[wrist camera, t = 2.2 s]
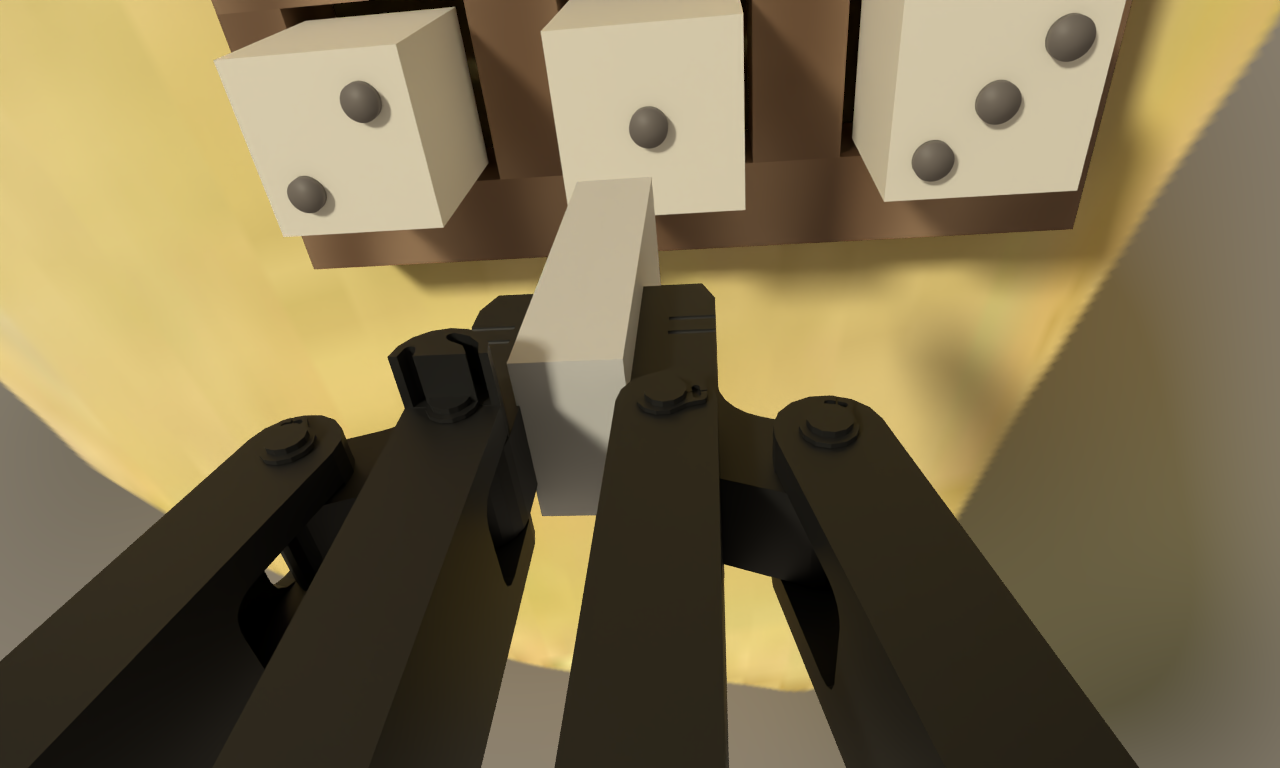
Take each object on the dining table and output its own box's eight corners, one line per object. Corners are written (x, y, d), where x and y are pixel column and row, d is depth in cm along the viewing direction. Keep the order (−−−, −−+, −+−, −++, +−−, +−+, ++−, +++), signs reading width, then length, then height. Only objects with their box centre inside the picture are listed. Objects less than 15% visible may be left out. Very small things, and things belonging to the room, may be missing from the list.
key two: (355, 175, 29) (281, 245, 24) (305, 20, 26) (207, 62, 21) (489, 166, 28) (441, 235, 23) (455, 7, 25) (392, 46, 20)
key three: (851, 142, 27) (885, 210, 22) (864, -32, 24) (907, 1, 19) (1007, 131, 26) (1080, 199, 21) (1042, -48, 23) (1136, -19, 18)
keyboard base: (350, 229, 34) (314, 269, 31) (237, -106, 27) (173, -100, 24) (1034, 189, 31) (1072, 229, 28) (1122, -207, 23) (1189, -216, 20)
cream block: (594, 159, 28) (569, 228, 23) (572, -5, 25) (538, 33, 20) (738, 149, 27) (745, 218, 22) (736, -20, 24) (743, 16, 19)
